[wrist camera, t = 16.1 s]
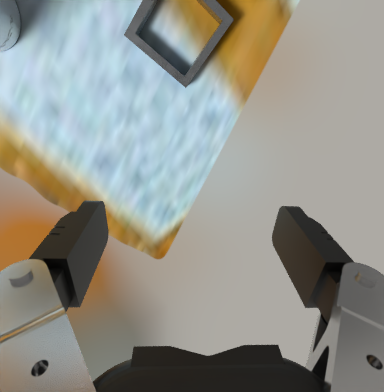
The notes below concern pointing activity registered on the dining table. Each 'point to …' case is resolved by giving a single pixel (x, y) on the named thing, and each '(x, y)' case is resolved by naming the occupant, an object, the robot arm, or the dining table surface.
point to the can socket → (132, 34)
